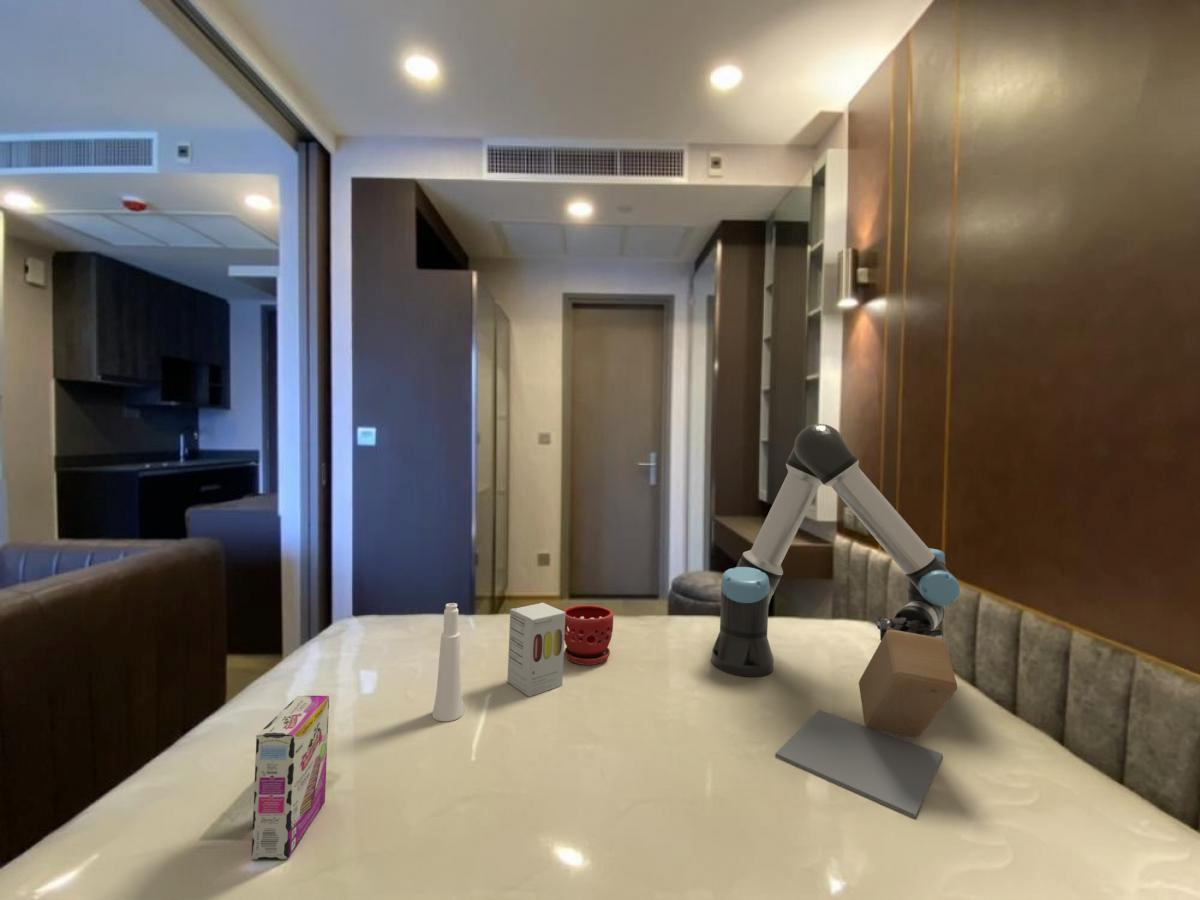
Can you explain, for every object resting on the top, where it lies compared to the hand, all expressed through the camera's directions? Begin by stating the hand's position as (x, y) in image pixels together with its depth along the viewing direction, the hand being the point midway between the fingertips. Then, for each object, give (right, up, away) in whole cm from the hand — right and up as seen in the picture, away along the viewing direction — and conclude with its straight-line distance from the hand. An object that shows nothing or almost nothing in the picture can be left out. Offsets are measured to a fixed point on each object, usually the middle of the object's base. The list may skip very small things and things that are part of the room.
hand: (890, 649), depth 105 cm
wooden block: (0, -13, +1) cm, 13 cm away
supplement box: (-73, -14, +14) cm, 75 cm away
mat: (-11, -16, -10) cm, 22 cm away
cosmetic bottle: (-88, -13, 0) cm, 89 cm away
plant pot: (-61, -14, +30) cm, 70 cm away
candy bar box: (-101, -13, -32) cm, 106 cm away
